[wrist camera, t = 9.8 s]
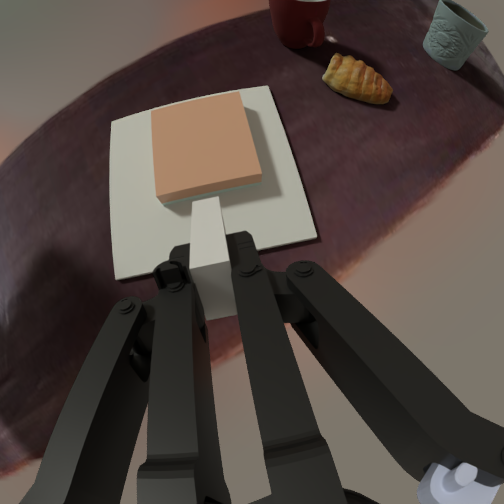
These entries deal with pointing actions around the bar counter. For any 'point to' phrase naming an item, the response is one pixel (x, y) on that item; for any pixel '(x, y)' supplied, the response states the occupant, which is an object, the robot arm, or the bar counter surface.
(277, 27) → the mug
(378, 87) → the pastry
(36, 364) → the bar counter surface
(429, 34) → the green ceramic cup
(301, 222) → the mat
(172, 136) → the tile
